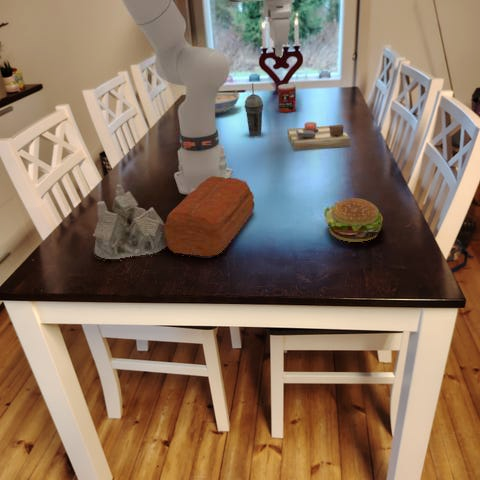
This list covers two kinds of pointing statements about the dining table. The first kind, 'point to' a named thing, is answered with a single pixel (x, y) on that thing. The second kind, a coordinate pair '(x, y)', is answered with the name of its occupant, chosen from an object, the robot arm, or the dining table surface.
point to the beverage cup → (254, 113)
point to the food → (354, 220)
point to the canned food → (287, 98)
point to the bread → (209, 217)
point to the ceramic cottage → (127, 229)
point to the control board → (317, 139)
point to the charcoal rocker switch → (305, 133)
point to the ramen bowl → (226, 100)
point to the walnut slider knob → (336, 130)
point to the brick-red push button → (310, 126)
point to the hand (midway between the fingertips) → (278, 55)
